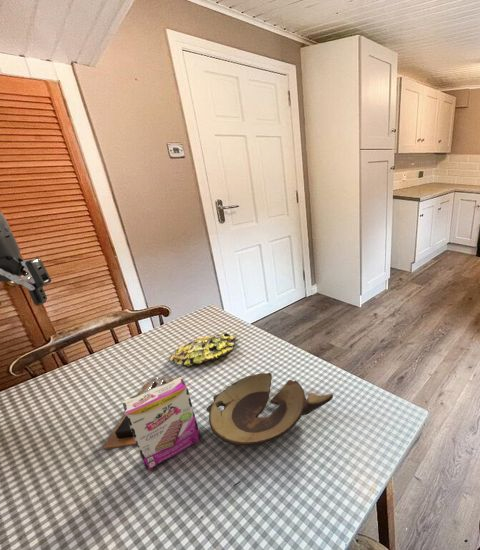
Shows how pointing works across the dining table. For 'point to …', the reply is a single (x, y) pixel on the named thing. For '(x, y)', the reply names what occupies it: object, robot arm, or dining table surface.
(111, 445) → the cork mat
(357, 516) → the dining table surface
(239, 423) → the brown shallow dish
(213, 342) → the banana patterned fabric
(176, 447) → the candy bar box
